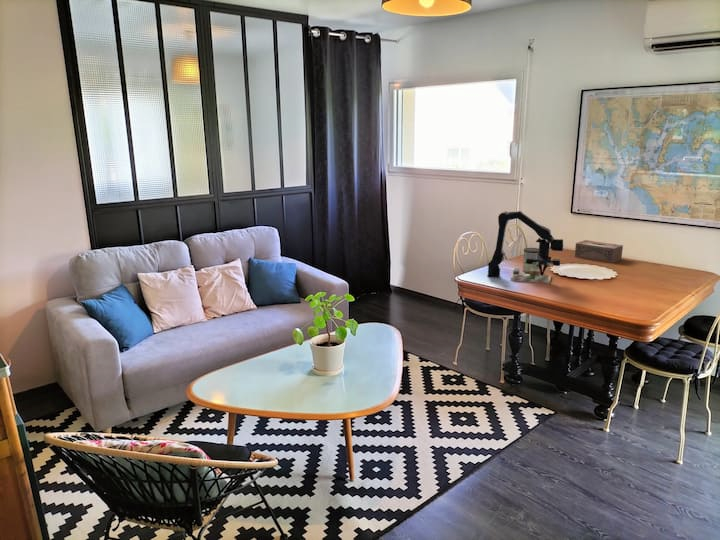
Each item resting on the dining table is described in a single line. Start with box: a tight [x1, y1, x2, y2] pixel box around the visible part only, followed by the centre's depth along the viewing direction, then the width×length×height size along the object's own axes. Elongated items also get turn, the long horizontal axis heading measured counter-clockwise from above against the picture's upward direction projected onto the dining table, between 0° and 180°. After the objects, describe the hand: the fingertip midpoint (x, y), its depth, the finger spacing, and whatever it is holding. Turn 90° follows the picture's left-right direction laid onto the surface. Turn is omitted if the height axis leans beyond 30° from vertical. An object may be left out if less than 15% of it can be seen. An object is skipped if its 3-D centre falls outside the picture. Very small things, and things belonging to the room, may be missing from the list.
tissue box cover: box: [574, 239, 624, 264], centre depth 355 cm, size 26×14×10 cm, turn 42°
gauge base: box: [510, 267, 552, 284], centre depth 308 cm, size 22×12×5 cm, turn 69°
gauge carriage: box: [524, 268, 540, 279], centre depth 306 cm, size 8×10×4 cm
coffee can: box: [522, 247, 541, 273], centre depth 324 cm, size 10×10×14 cm
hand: (542, 275), depth 305 cm, fingers closed
